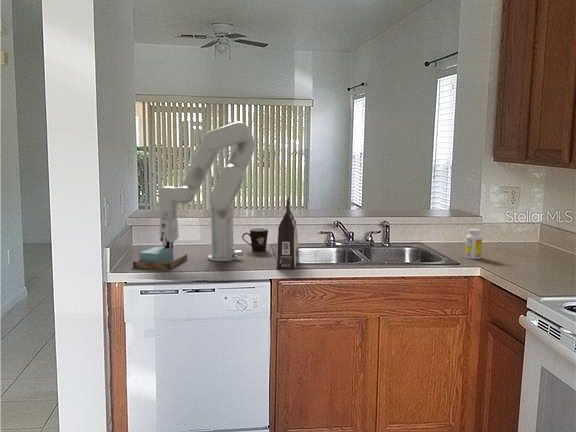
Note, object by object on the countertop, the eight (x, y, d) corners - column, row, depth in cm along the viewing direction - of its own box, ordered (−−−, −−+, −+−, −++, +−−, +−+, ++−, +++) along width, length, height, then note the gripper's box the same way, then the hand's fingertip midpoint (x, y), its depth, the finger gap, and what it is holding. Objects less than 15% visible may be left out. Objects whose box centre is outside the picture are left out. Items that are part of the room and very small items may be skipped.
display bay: (187, 259, 227) (187, 254, 227) (170, 269, 209) (169, 263, 209) (152, 258, 230) (152, 252, 230) (133, 267, 212) (132, 261, 212)
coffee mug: (269, 249, 251) (269, 228, 250) (266, 252, 243) (266, 231, 241) (245, 248, 253) (245, 227, 251) (241, 251, 244) (241, 230, 243)
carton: (173, 262, 224) (173, 248, 223) (158, 268, 213) (157, 253, 212) (156, 260, 227) (155, 247, 226) (140, 266, 216) (139, 252, 215)
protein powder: (297, 269, 211) (297, 200, 208) (275, 269, 212) (275, 200, 208) (298, 260, 228) (299, 196, 224) (278, 260, 228) (278, 196, 224)
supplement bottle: (481, 257, 237) (483, 229, 235) (480, 260, 231) (482, 231, 229) (466, 255, 240) (467, 227, 238) (464, 258, 234) (465, 230, 232)
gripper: (169, 217, 217) (170, 261, 220) (183, 213, 232) (183, 253, 234) (152, 217, 219) (153, 260, 221) (167, 212, 233) (168, 252, 236)
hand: (169, 256), depth 228 cm, fingers closed
